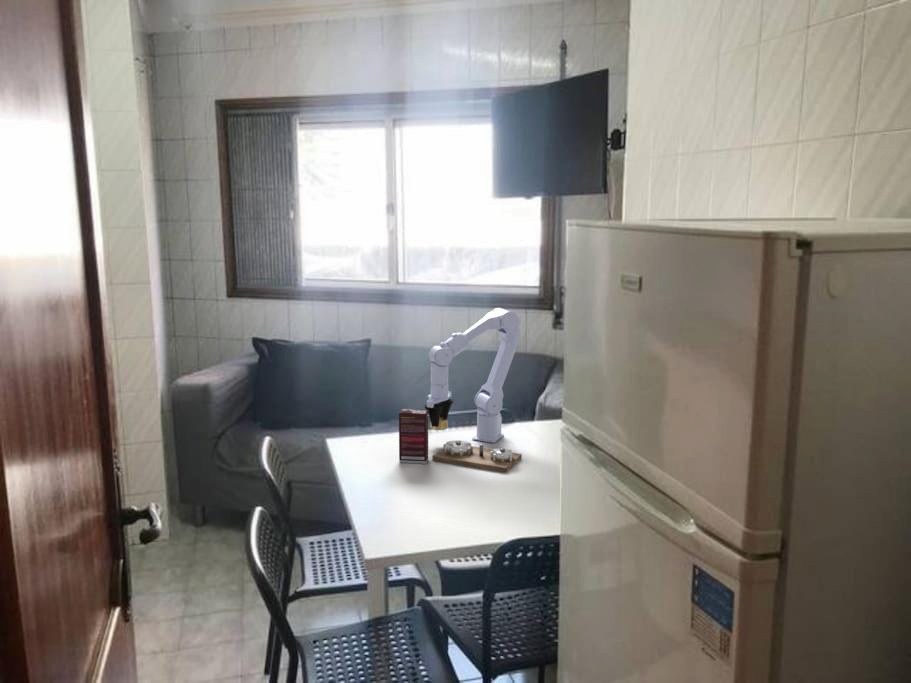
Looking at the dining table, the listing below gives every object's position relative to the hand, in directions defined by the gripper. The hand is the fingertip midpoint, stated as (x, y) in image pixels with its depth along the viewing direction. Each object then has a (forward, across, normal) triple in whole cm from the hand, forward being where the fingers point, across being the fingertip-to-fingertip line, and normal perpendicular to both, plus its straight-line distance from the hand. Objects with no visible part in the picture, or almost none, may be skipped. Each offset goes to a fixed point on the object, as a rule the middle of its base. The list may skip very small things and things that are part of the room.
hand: (439, 423), depth 246 cm
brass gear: (+1, 0, 0) cm, 1 cm away
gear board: (+7, +8, +17) cm, 20 cm away
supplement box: (+7, +18, 0) cm, 19 cm away
